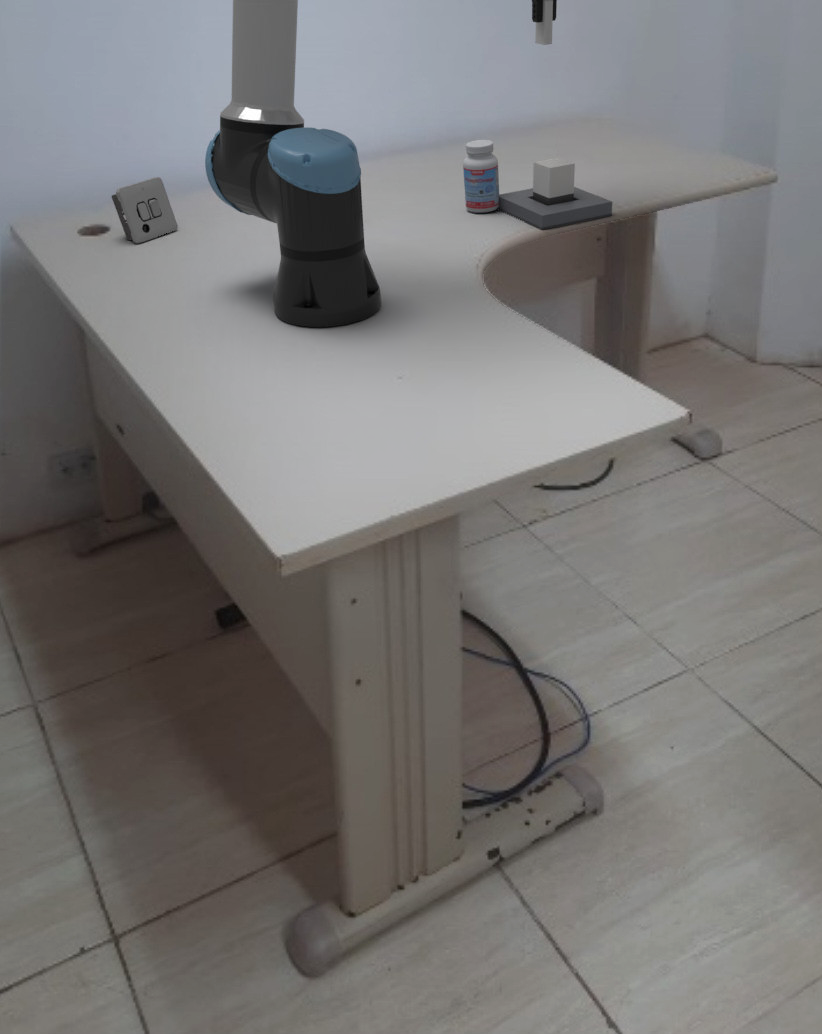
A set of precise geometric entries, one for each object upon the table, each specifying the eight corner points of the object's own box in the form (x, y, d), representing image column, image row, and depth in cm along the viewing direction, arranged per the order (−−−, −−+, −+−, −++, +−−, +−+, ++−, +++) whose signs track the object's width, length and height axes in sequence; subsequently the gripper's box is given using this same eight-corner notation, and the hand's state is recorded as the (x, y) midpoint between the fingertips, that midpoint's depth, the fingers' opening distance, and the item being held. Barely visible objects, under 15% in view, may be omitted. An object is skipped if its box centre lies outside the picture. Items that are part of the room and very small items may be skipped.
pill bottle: (464, 214, 185) (459, 149, 179) (468, 203, 190) (463, 139, 184) (498, 213, 184) (495, 147, 178) (501, 202, 189) (498, 137, 183)
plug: (573, 210, 183) (574, 163, 179) (548, 215, 181) (549, 168, 177) (556, 204, 187) (558, 157, 182) (532, 209, 185) (533, 162, 181)
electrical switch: (137, 245, 179) (123, 189, 175) (118, 243, 182) (105, 188, 178) (179, 231, 185) (167, 176, 181) (161, 229, 188) (148, 175, 184)
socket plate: (611, 215, 181) (612, 201, 179) (542, 230, 176) (542, 215, 174) (562, 195, 192) (563, 182, 191) (496, 208, 187) (496, 195, 186)
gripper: (568, -126, 167) (564, 36, 180) (497, -121, 163) (497, 45, 175) (596, -127, 161) (589, 41, 174) (523, -122, 157) (521, 50, 169)
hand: (543, 43), depth 175 cm, fingers closed
